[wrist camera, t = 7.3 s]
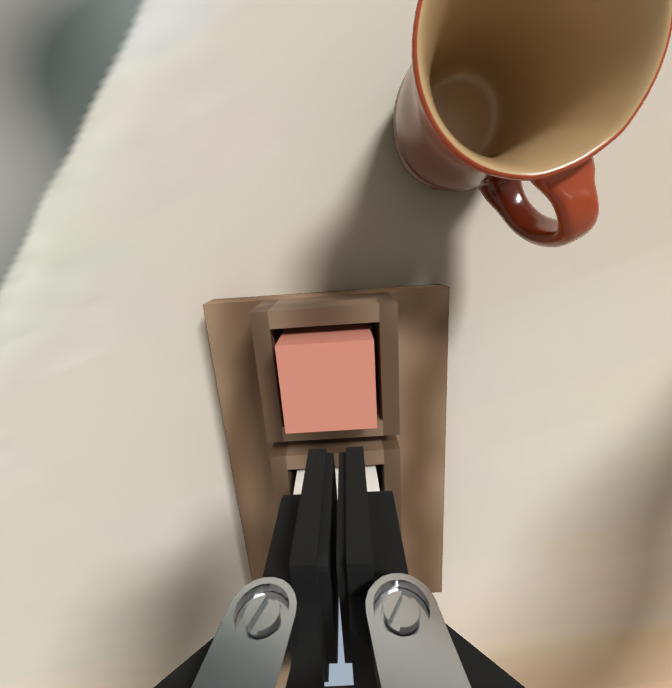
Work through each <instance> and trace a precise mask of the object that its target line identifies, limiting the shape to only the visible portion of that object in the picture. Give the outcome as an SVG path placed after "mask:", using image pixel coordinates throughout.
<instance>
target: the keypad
mask: <svg viewBox="0 0 672 688" xmlns="http://www.w3.org/2000/svg"><path fill="white" fill-rule="evenodd" d="M203 309H204V315H205V320H206V326H207V331H208V337H209V343H210V348H211V354H212V359H213V365H214V370H215V376H216V382H217V387H218V393H219V398H220V404H221V409H222V415H223V421H224V426H225V432H226V437H227V443H228V449H229V454H230V460H231V465H232V471H233V476H234V482H235V488H236V493H237V499H238V504H239V510H240V515H241V521H242V527H243V532H244V538H245V543H246V549H247V555H248V560H249V566H250V571H251V577H252V581H254V580H257V579H260V578H262V577H263V572H264V568H265V564H266V560H267V556H268V552H269V548H270V544H271V539H272V535H273V531H274V527H275V523H276V519H277V515H278V511H279V506H280V502H281V499H282V496H283V495H293V493H294V487H295V481H296V475H297V469H305V467H306V461H307V456H308V450H309V449H313V448H327V453H332V452H333V453H334V462H335V467H339V452H346V447H356V446H363V450H364V461H365V465H375V466H376V472H377V478H378V483H379V489H380V491H392V492H393V496H394V501H395V506H396V511H397V516H398V521H399V527H400V532H401V537H402V542H403V548H404V553H405V558H406V563H407V568H408V574H409V575H410V576H413V577H415V578H416V579H418V580H420V581H422V582H423V583H424V584H425V585H426V586H427V587H428V588H429V589H430V591H431V593H433V592H442V554H443V515H444V475H445V436H446V396H447V357H448V317H449V287H446V286H444V285H441V284H433V285H419V286H404V287H389V288H375V289H360V290H345V291H331V292H316V293H301V294H287V295H272V296H257V297H243V298H228V299H213V300H211V301H209V302H207V303H205V304H203ZM356 323H368V326H369V328H370V331H371V333H372V336H373V339H374V354H375V380H376V407H377V428H371V429H355V430H338V431H322V432H306V433H289V434H286V433H285V425H284V416H283V408H282V400H281V392H280V384H279V376H278V368H277V360H276V352H275V345H276V343H277V342H278V340H279V338H280V336H281V335H282V333H283V331H284V329H285V328H296V327H311V326H326V325H341V324H356Z"/></svg>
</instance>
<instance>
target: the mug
mask: <svg viewBox="0 0 672 688" xmlns="http://www.w3.org/2000/svg"><path fill="white" fill-rule="evenodd" d="M671 31H672V0H418V3H417V7H416V12H415V18H414V24H413V34H412V64H411V66H410V68H409V70H408V72H407V74H406V76H405V78H404V79H403V81H402V84H401V86H400V89H399V92H398V94H397V98H396V101H395V109H394V139H395V145H396V149H397V152H398V155H399V157H400V159H401V161H402V163H403V165H404V166H405V168H406V169H407V170H408V172H409V173H410V174H411V175H412V176H413V177H414V178H416V179H417V180H418V181H420V182H421V183H423V184H425V185H428V186H429V187H431V188H432V189H435V190H443V191H464V190H469V189H472V188H475V187H477V188H479V189H480V191H481V193H482V194H483V196H484V198H485V199H486V200H487V201H488V203H489V204H490V205H491V206H492V207H493V208H494V209H495V210H496V211H497V212H498V213H499V215H500V216H501V217H502V219H503V220H504V221H505V222H506V224H507V225H508V226H509V227H510V228H511V229H512V230H513V231H514V232H515V233H516V234H517V235H519V236H520V237H521V238H523V239H524V240H526V241H528V242H530V243H532V244H535V245H539V246H544V247H560V246H564V245H566V244H568V243H571V242H573V241H575V240H577V239H579V238H580V237H582V236H584V235H585V234H587V233H588V232H589V231H590V230H591V229H592V228H593V226H594V225H595V223H596V221H597V218H598V212H599V203H598V196H597V191H596V186H595V166H594V160H593V156H594V155H595V154H597V153H598V152H599V151H601V150H602V149H603V148H605V147H606V146H607V145H608V144H610V143H611V142H612V141H613V140H615V139H616V138H617V137H618V136H619V135H620V134H621V133H622V132H623V131H624V130H625V129H626V127H627V126H628V125H629V123H630V122H631V121H632V119H633V118H634V116H635V115H636V113H637V112H638V110H639V109H640V107H641V106H642V104H643V102H644V101H645V99H646V97H647V96H648V94H649V92H650V90H651V88H652V86H653V84H654V82H655V80H656V78H657V76H658V73H659V71H660V69H661V66H662V63H663V60H664V57H665V54H666V52H667V48H668V44H669V40H670V36H671ZM521 180H522V181H531V183H532V184H533V185H534V186H535V187H536V188H537V189H539V190H540V191H541V192H542V193H543V194H544V195H545V196H546V197H547V198H548V199H549V201H550V202H551V204H552V206H553V208H554V210H555V213H556V216H557V220H556V219H552V218H549V217H546V216H544V215H542V214H541V213H539V212H538V211H537V210H536V209H535V208H534V207H533V206H532V205H531V204H530V203H529V201H528V200H527V198H526V196H525V194H524V191H523V187H522V183H521Z"/></svg>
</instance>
